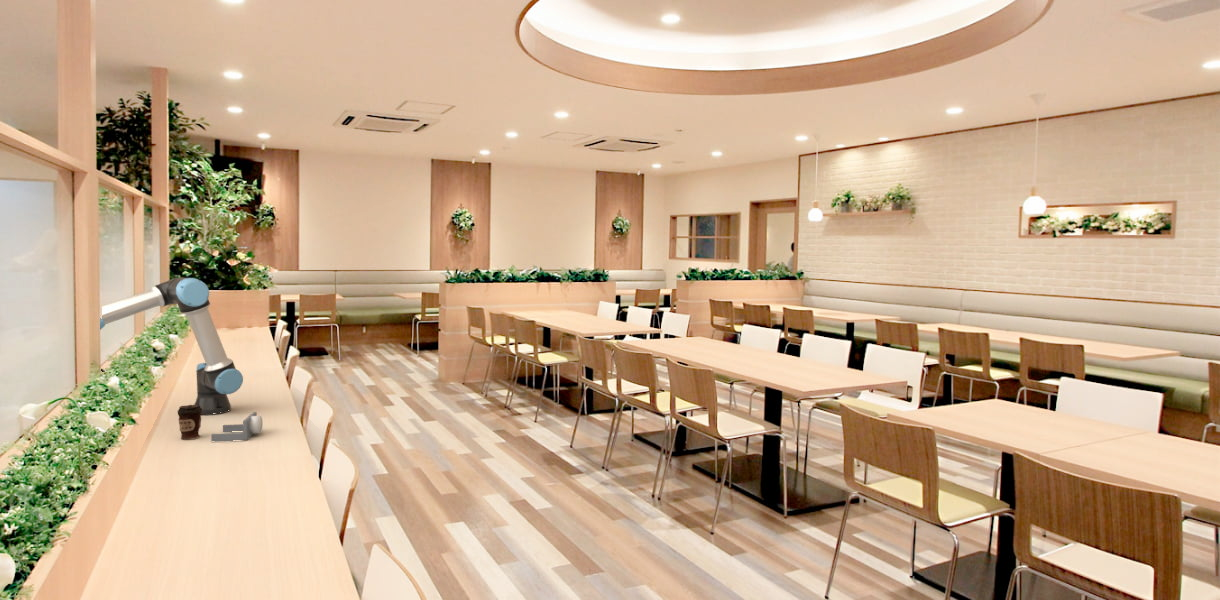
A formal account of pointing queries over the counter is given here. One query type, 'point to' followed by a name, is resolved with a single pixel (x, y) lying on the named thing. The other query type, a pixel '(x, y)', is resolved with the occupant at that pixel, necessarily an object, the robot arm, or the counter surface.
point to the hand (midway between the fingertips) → (133, 403)
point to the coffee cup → (189, 421)
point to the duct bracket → (241, 429)
